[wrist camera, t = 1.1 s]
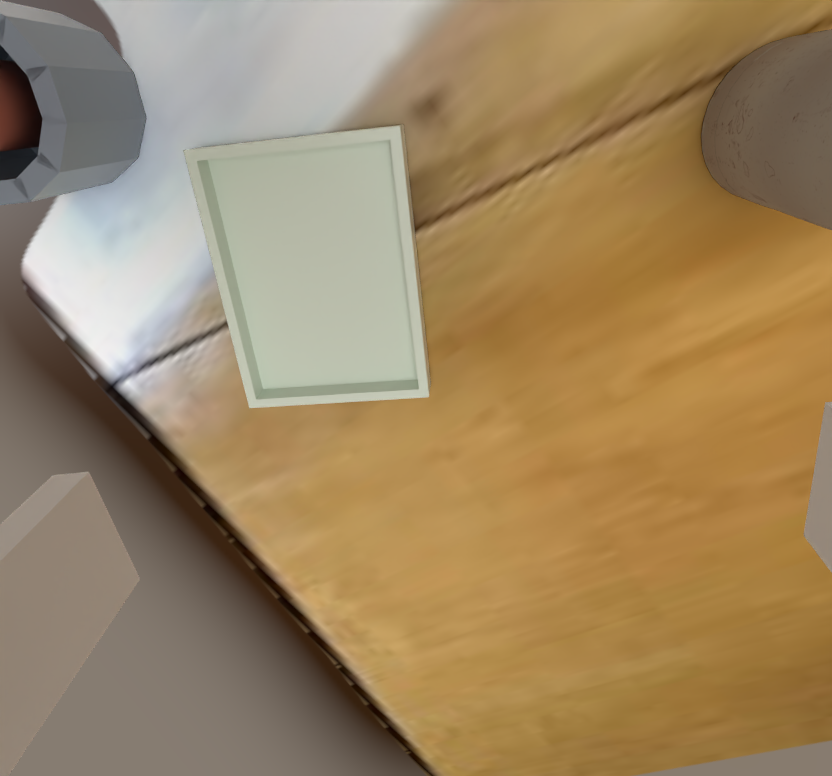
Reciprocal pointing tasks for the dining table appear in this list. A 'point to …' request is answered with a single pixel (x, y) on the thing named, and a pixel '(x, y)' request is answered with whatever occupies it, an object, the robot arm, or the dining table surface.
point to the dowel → (17, 109)
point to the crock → (69, 106)
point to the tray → (316, 265)
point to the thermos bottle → (776, 128)
